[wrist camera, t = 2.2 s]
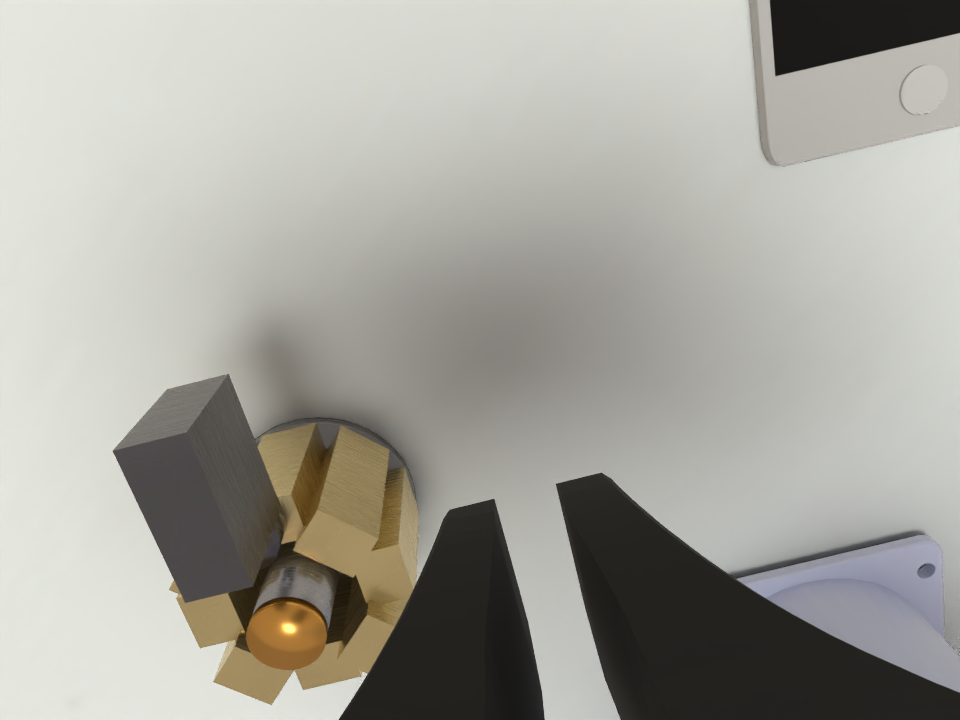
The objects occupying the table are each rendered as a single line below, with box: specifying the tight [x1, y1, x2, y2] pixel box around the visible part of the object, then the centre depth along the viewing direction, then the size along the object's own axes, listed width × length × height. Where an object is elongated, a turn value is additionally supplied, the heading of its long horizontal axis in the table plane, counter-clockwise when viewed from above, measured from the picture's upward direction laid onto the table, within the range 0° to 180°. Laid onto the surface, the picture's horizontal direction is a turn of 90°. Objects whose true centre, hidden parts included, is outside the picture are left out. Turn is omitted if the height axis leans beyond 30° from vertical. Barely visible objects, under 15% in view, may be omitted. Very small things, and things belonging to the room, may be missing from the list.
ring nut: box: [113, 374, 419, 705], centre depth 16 cm, size 8×5×6 cm, turn 14°
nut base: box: [246, 418, 416, 670], centre depth 17 cm, size 5×5×5 cm
